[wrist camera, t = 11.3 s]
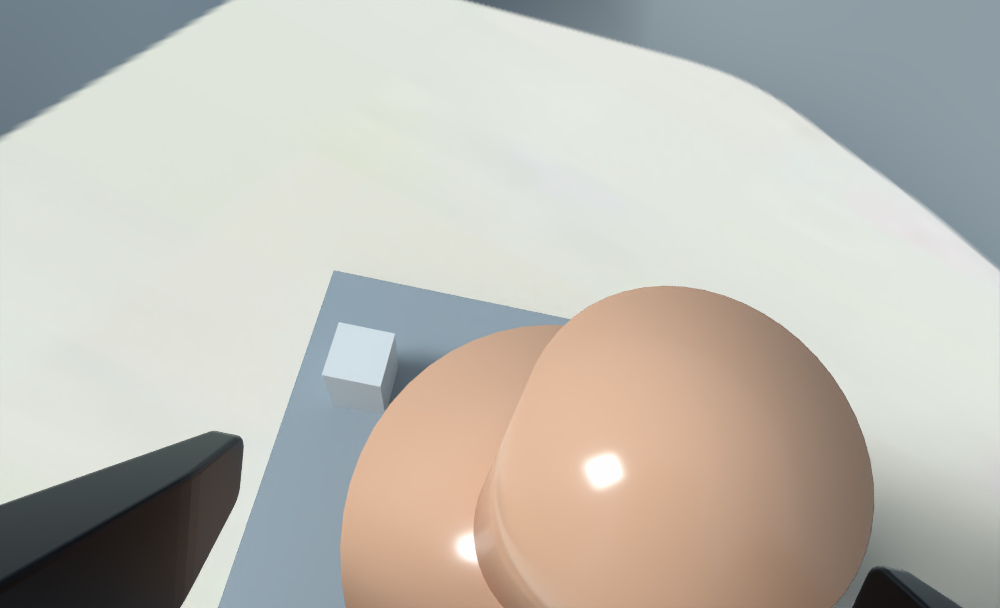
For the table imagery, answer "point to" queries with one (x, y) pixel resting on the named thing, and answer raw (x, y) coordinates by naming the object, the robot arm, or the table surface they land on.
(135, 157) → the table surface
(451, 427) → the tan bottle
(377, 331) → the plate
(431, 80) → the table surface
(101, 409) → the table surface
